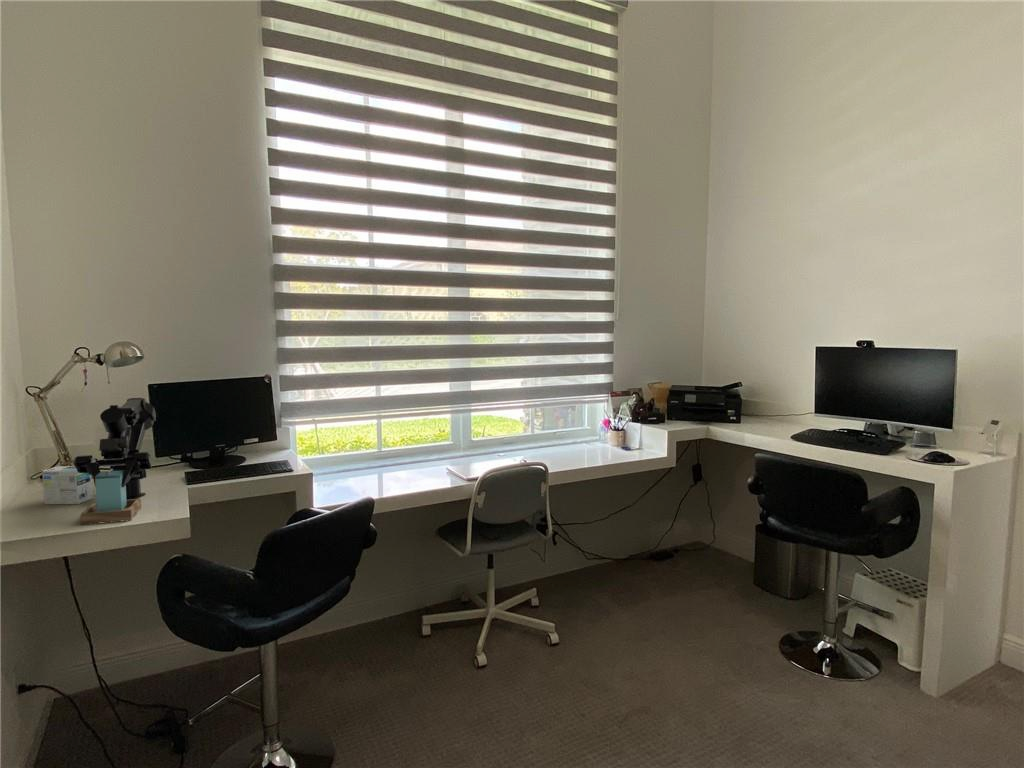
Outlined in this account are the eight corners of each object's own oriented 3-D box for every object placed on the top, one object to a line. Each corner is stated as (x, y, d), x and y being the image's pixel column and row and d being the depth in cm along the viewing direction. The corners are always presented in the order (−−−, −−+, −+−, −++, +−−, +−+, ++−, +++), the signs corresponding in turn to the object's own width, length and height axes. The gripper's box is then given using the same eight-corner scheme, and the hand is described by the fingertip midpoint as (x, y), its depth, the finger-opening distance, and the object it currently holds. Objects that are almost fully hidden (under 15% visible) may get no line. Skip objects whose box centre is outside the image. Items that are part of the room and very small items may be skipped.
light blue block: (102, 506, 173) (100, 468, 171) (126, 504, 175) (124, 466, 173) (97, 512, 167) (94, 472, 166) (121, 510, 170) (119, 471, 168)
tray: (94, 512, 175) (94, 502, 174) (141, 508, 179) (140, 498, 179) (81, 524, 163) (80, 514, 163) (131, 520, 168) (130, 510, 167)
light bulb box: (93, 498, 188) (91, 465, 187) (78, 504, 182) (76, 470, 181) (59, 498, 188) (57, 465, 187) (43, 504, 181) (41, 470, 180)
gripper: (73, 428, 169) (62, 475, 160) (148, 425, 176) (141, 470, 166) (84, 449, 177) (73, 495, 168) (155, 446, 184) (149, 490, 175)
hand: (109, 487), depth 169 cm, fingers closed on light blue block, 6 cm apart
